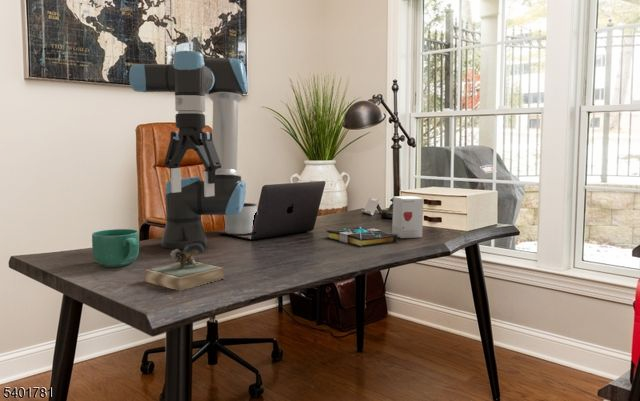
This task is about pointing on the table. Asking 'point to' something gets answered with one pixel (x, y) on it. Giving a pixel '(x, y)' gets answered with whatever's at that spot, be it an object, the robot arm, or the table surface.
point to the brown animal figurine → (189, 252)
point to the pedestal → (183, 275)
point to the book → (362, 236)
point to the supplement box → (407, 216)
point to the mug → (115, 247)
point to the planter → (241, 220)
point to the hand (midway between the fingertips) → (192, 194)
